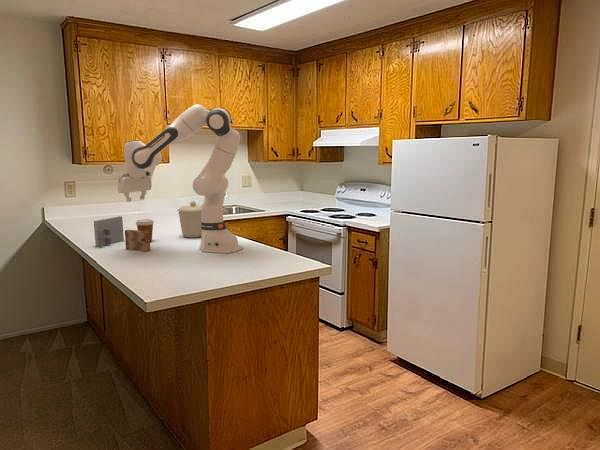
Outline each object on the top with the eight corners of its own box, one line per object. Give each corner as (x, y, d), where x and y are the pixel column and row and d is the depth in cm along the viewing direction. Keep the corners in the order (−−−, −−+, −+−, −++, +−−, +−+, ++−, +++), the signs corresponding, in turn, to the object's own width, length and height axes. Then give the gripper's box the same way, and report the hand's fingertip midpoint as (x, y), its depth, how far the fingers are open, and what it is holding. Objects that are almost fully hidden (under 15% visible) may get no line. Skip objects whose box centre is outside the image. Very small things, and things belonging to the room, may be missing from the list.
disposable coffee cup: (136, 243, 247) (134, 222, 245) (137, 240, 256) (136, 219, 254) (154, 242, 250) (153, 221, 248) (155, 239, 259) (153, 218, 257)
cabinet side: (128, 241, 254) (126, 216, 252) (103, 247, 238) (101, 221, 235) (121, 240, 256) (119, 216, 254) (95, 246, 240) (93, 220, 237)
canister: (202, 239, 257) (200, 203, 253) (173, 238, 261) (171, 202, 257) (214, 234, 274) (213, 199, 271) (186, 233, 278) (185, 199, 274)
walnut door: (150, 250, 231) (149, 231, 229) (145, 252, 227) (144, 232, 225) (129, 248, 236) (128, 229, 234) (124, 249, 233) (122, 230, 231)
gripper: (123, 174, 216) (125, 203, 218) (153, 172, 234) (154, 198, 236) (113, 174, 218) (115, 202, 220) (143, 171, 236) (144, 198, 239)
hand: (135, 200), depth 229 cm, fingers open, 8 cm apart
